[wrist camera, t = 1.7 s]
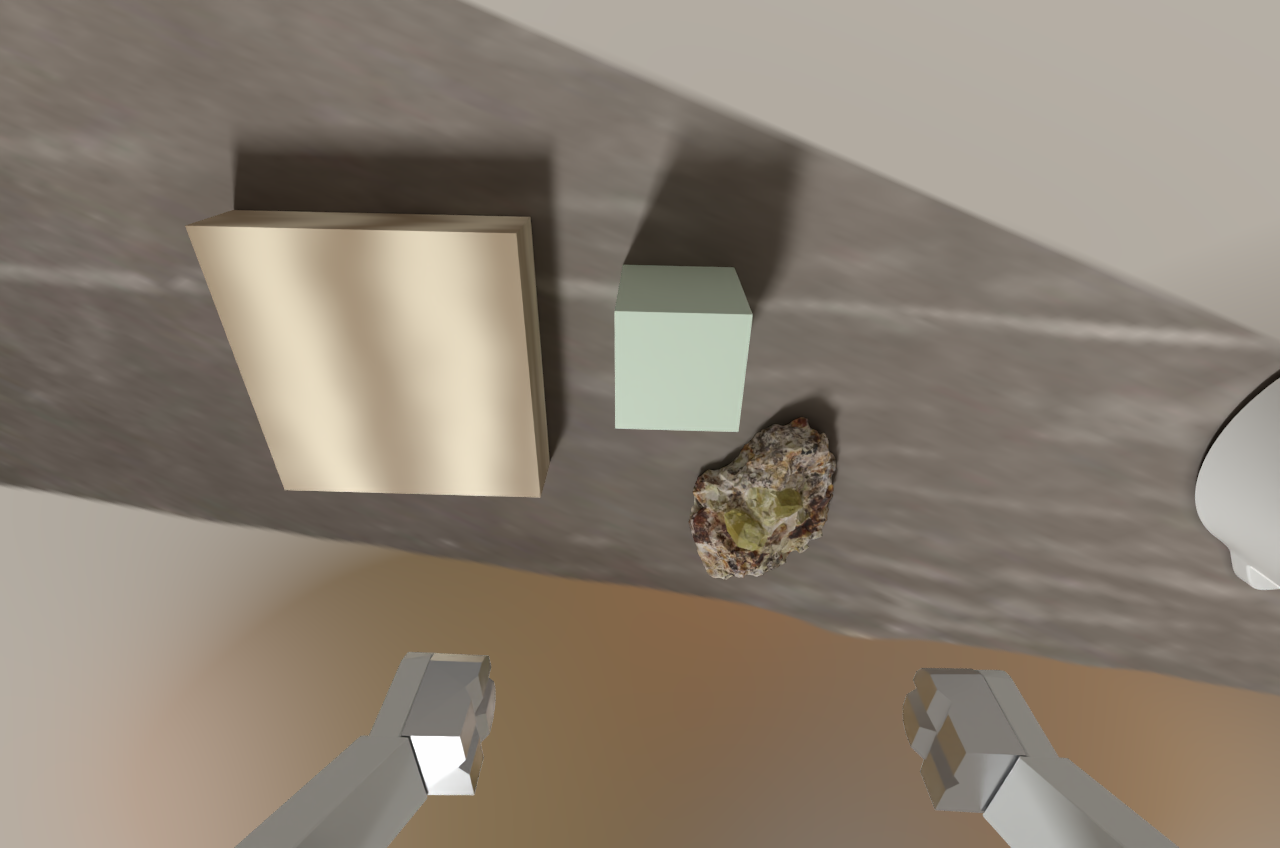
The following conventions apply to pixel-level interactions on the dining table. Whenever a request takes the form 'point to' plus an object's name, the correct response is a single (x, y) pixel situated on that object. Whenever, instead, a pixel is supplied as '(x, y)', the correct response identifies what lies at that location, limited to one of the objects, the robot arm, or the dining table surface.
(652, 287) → the sage block
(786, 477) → the mineral rock
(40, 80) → the dining table surface
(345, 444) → the birch plinth
